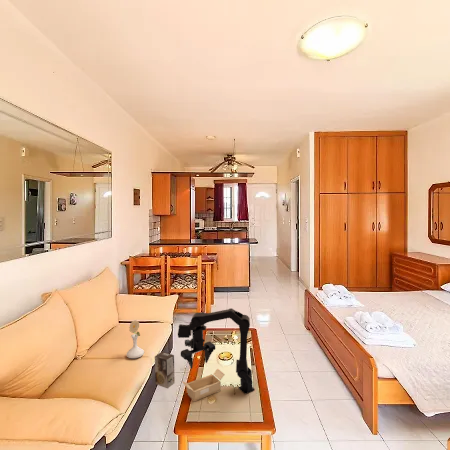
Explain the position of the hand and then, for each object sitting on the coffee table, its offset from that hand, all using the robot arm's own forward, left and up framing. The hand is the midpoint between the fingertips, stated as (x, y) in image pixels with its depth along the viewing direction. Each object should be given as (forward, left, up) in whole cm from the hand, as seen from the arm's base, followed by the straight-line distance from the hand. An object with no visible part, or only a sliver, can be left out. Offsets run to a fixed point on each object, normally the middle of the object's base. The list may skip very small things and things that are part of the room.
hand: (198, 365), depth 162 cm
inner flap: (-5, -10, -6) cm, 12 cm away
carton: (-5, 0, -13) cm, 13 cm away
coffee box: (+14, +14, -13) cm, 24 cm away
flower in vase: (+54, +18, -13) cm, 59 cm away
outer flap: (-5, +9, -6) cm, 12 cm away
